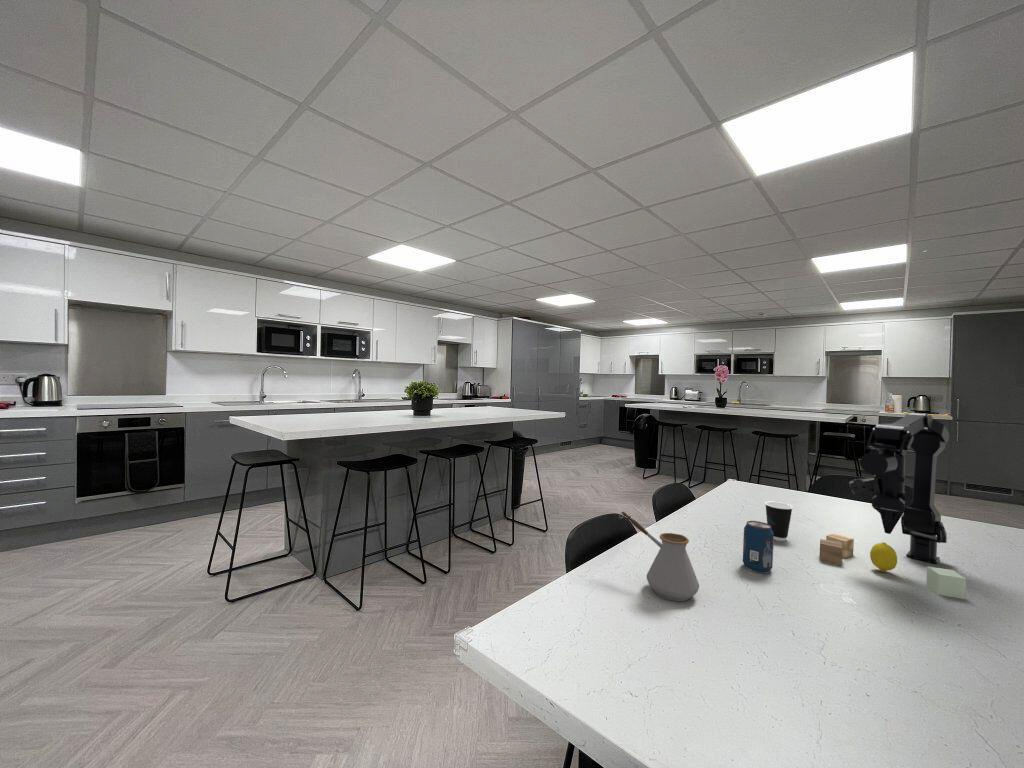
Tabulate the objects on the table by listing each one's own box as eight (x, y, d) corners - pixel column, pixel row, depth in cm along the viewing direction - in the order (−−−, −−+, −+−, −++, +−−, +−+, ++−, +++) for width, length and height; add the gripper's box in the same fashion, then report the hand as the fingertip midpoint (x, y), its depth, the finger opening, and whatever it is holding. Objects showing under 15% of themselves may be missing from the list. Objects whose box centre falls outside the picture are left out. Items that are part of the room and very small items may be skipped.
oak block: (833, 549, 129) (834, 533, 129) (853, 555, 125) (853, 538, 125) (825, 551, 127) (826, 535, 127) (845, 558, 123) (845, 541, 123)
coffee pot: (708, 596, 96) (711, 531, 96) (680, 611, 89) (683, 541, 89) (632, 562, 113) (634, 507, 113) (603, 572, 106) (606, 514, 106)
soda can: (747, 560, 117) (748, 518, 117) (775, 569, 112) (777, 524, 113) (738, 567, 113) (740, 523, 113) (768, 577, 108) (769, 530, 108)
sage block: (926, 585, 106) (927, 566, 106) (952, 590, 104) (952, 570, 104) (937, 594, 102) (938, 574, 102) (965, 599, 100) (965, 578, 100)
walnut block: (819, 555, 124) (820, 538, 124) (840, 560, 121) (841, 543, 121) (819, 560, 120) (820, 543, 120) (841, 565, 117) (842, 548, 117)
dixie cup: (794, 538, 137) (795, 505, 137) (788, 544, 132) (789, 509, 132) (767, 532, 143) (768, 500, 143) (760, 537, 137) (761, 503, 137)
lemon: (902, 577, 110) (903, 547, 110) (877, 574, 112) (879, 545, 112) (887, 568, 116) (888, 540, 116) (864, 566, 117) (865, 537, 117)
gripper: (855, 462, 125) (854, 514, 125) (847, 471, 112) (846, 529, 112) (906, 468, 117) (905, 524, 117) (905, 478, 104) (903, 541, 104)
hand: (888, 529), depth 113 cm, fingers open, 9 cm apart
